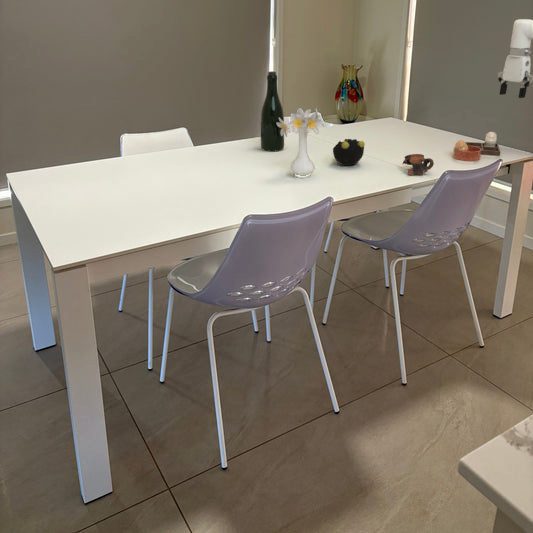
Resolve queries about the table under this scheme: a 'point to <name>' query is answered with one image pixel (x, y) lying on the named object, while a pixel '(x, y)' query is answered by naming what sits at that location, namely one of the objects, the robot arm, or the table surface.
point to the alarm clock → (348, 151)
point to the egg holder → (486, 148)
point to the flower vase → (302, 139)
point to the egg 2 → (490, 139)
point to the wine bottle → (271, 117)
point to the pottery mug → (418, 164)
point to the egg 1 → (461, 146)
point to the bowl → (468, 154)
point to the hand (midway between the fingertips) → (512, 96)
